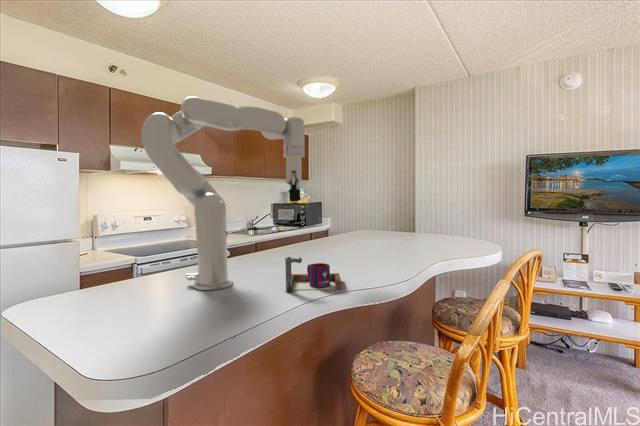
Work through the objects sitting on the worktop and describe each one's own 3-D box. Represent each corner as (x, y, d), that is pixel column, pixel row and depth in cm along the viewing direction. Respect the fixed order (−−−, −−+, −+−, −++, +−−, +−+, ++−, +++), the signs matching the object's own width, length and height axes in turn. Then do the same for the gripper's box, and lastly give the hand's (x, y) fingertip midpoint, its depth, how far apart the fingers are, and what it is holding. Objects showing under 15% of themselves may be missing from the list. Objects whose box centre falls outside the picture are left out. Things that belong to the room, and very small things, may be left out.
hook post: (285, 292, 101) (285, 257, 100) (286, 291, 103) (285, 256, 102) (302, 292, 101) (301, 257, 100) (302, 290, 103) (302, 256, 102)
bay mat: (292, 290, 103) (292, 289, 103) (294, 282, 112) (294, 281, 112) (335, 289, 104) (335, 288, 104) (334, 281, 113) (334, 281, 113)
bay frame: (286, 290, 103) (286, 282, 103) (289, 281, 114) (289, 274, 114) (341, 289, 103) (341, 281, 103) (338, 280, 114) (338, 273, 114)
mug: (316, 289, 103) (315, 268, 103) (301, 282, 112) (301, 262, 111) (333, 286, 106) (333, 265, 106) (318, 279, 115) (318, 260, 115)
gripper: (285, 156, 125) (286, 200, 126) (281, 150, 107) (282, 201, 108) (305, 155, 125) (306, 200, 126) (303, 149, 107) (304, 201, 108)
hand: (295, 200), depth 117 cm, fingers open, 9 cm apart
